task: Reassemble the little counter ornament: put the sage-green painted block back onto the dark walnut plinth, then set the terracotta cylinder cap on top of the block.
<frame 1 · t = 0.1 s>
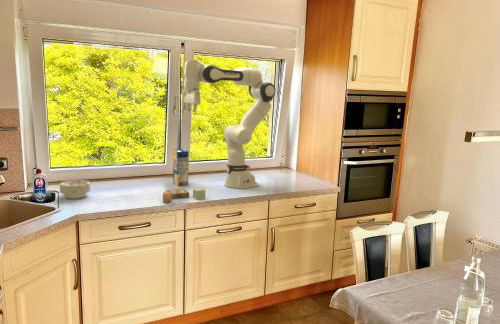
hand: (191, 111, 225), 48 cm above the counter, fingers open, 8 cm apart
green block: (199, 197, 218), on the counter
paper bowls: (75, 197, 210), on the counter
beverage box: (180, 183, 247), on the counter
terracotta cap: (166, 201, 208), on the counter
walnut plinth: (177, 195, 220), on the counter
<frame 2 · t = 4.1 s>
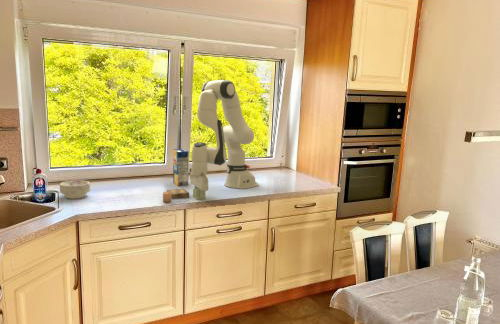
hand: (199, 194, 217), 2 cm above the counter, fingers closed on green block, 5 cm apart
green block: (199, 197, 218), on the counter, touching gripper
everything else where it was.
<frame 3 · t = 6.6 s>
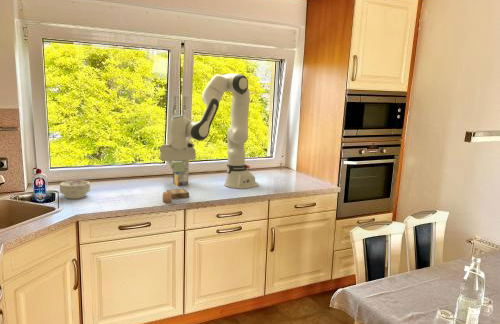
hand: (178, 168, 217), 16 cm above the counter, fingers closed on green block, 5 cm apart
green block: (177, 170, 217), point 15 cm above the counter, touching gripper
everything else where it was.
when the fingers open (5 cm above the counter, at t = 9.0 s): green block stays where it is, resting on walnut plinth.
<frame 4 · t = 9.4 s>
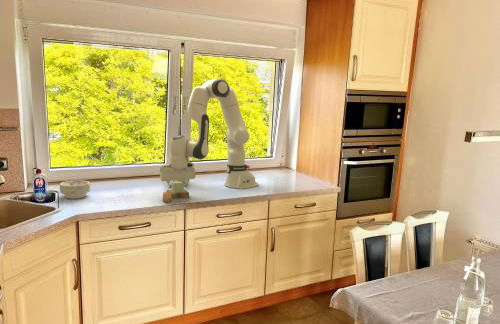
hand: (178, 187, 219), 5 cm above the counter, fingers open, 8 cm apart
green block: (178, 191, 219), point 3 cm above the counter, touching walnut plinth
everything else where it was.
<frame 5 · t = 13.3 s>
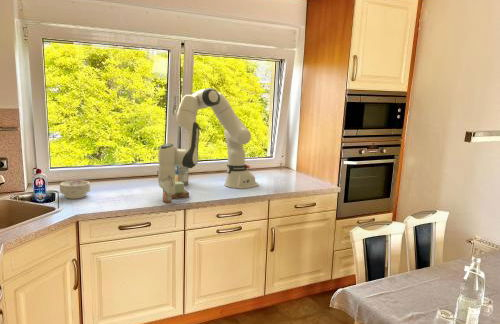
hand: (166, 198, 207), 2 cm above the counter, fingers closed on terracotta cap, 4 cm apart
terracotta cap: (166, 201, 208), on the counter, touching gripper
everything else where it was.
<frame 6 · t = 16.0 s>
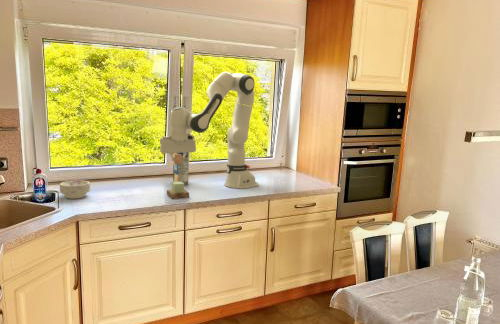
hand: (178, 160, 216), 21 cm above the counter, fingers closed on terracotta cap, 4 cm apart
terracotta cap: (178, 163, 216), point 19 cm above the counter, touching gripper
everything else where it was.
when the fingers open (10 cm above the counter, at t = 18.8 s): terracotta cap stays where it is, resting on green block.
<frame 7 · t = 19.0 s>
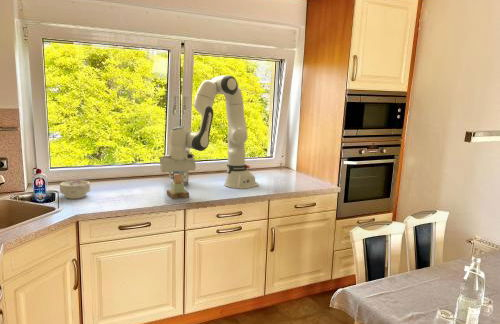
hand: (178, 178, 218), 10 cm above the counter, fingers open, 6 cm apart
green block: (178, 191, 219), point 3 cm above the counter, touching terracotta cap, walnut plinth
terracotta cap: (178, 182, 218), point 8 cm above the counter, touching green block
everything else where it was.
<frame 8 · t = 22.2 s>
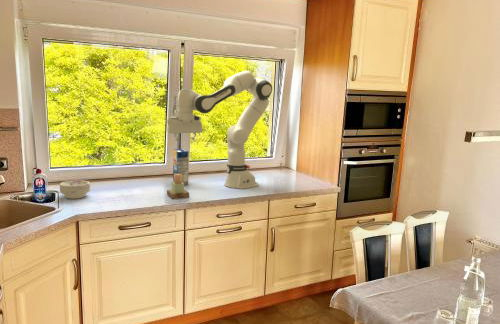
hand: (184, 140, 222), 31 cm above the counter, fingers open, 8 cm apart
nothing on the counter moved.
at the end: green block 0.1 cm off-centre on the walnut plinth, point 2.5 cm above the walnut plinth's base; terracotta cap 0.0 cm off-centre on the green block, point 5.0 cm above the green block's base; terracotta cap tilted 0° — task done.
